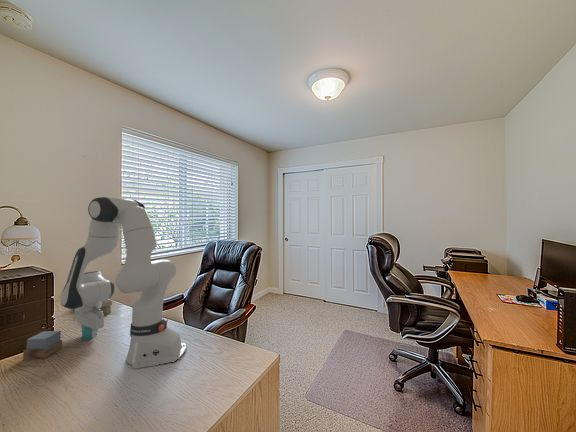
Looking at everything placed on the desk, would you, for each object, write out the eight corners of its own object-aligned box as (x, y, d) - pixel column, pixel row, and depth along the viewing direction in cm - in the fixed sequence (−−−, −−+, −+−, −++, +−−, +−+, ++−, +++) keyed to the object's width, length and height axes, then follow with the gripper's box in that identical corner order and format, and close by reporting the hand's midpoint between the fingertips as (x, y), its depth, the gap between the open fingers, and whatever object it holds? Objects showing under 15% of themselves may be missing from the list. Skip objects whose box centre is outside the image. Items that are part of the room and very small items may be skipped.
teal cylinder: (98, 334, 115) (98, 324, 115) (90, 340, 110) (91, 329, 110) (86, 335, 115) (87, 325, 115) (79, 340, 110) (79, 329, 110)
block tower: (77, 309, 150) (95, 318, 135) (77, 295, 151) (96, 303, 135) (92, 305, 157) (112, 313, 141) (93, 292, 157) (112, 299, 142)
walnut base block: (61, 349, 103) (62, 339, 103) (45, 359, 95) (45, 349, 95) (41, 350, 102) (41, 340, 102) (23, 360, 94) (23, 350, 94)
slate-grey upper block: (60, 340, 103) (60, 330, 103) (45, 348, 96) (45, 338, 96) (42, 340, 102) (43, 331, 102) (26, 349, 95) (26, 339, 95)
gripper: (108, 307, 111) (107, 336, 110) (87, 299, 120) (86, 326, 120) (92, 311, 105) (91, 342, 105) (72, 303, 115) (71, 331, 114)
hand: (88, 334), depth 112 cm, fingers open, 8 cm apart
